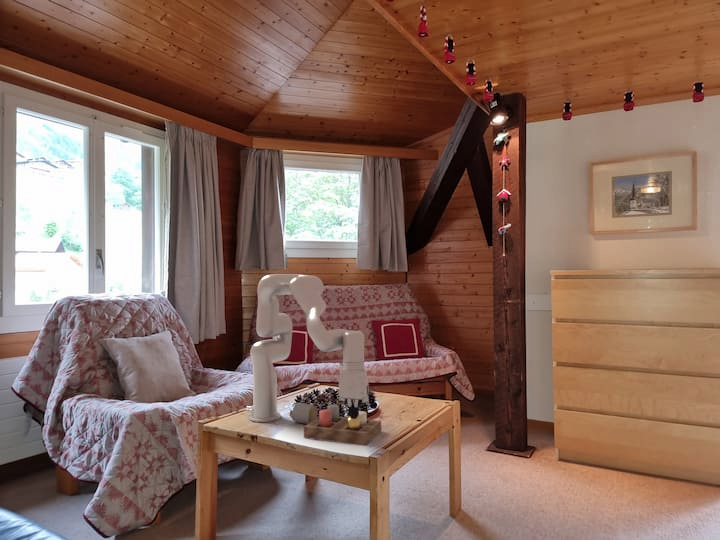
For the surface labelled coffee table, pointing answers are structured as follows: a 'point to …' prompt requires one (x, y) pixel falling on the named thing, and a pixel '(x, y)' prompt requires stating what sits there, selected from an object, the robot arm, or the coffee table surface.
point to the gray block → (334, 412)
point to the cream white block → (363, 417)
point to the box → (343, 431)
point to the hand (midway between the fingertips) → (354, 417)
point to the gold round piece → (354, 423)
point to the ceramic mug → (304, 413)
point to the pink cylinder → (325, 418)
